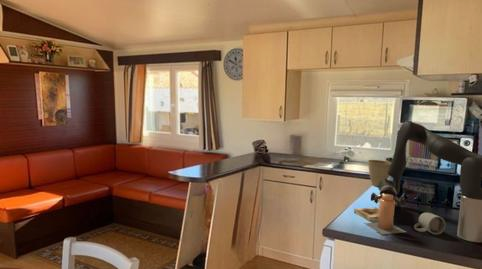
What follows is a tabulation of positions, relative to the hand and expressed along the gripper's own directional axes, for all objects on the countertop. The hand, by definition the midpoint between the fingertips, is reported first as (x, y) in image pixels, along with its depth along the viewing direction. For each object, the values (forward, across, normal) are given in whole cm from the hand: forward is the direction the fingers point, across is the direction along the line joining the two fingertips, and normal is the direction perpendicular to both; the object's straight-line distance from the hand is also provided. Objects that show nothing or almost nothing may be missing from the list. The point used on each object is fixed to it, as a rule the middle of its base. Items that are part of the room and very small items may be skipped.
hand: (386, 202), depth 150 cm
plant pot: (-75, -7, +10) cm, 76 cm away
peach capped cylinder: (+7, 0, +9) cm, 11 cm away
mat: (+7, 0, +9) cm, 12 cm away
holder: (-6, -6, +10) cm, 13 cm away
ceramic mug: (+1, +17, +10) cm, 19 cm away
